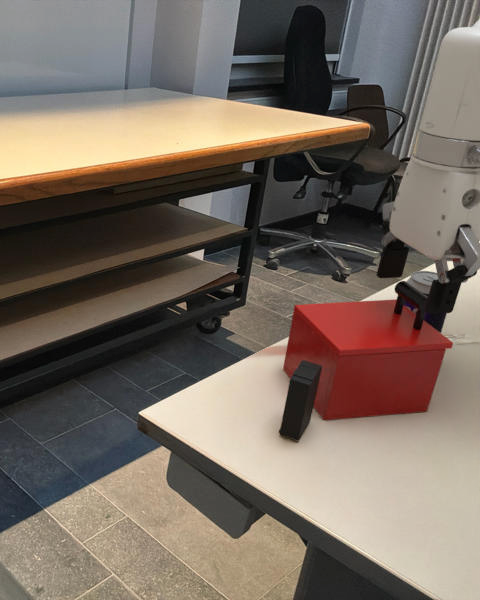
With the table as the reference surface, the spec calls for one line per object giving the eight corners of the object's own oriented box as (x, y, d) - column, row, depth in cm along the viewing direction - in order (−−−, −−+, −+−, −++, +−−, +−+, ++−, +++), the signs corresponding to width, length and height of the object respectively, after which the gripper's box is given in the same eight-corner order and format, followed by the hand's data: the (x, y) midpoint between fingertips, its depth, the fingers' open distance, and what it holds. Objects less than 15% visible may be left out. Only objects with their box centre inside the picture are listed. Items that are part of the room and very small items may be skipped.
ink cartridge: (291, 414, 80) (302, 357, 77) (310, 421, 79) (323, 363, 76) (277, 436, 76) (289, 376, 73) (297, 443, 75) (310, 383, 72)
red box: (375, 362, 92) (389, 305, 88) (427, 411, 82) (446, 349, 78) (282, 369, 89) (293, 310, 86) (324, 420, 79) (338, 356, 76)
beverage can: (390, 343, 96) (410, 266, 91) (434, 354, 94) (457, 275, 89) (384, 360, 92) (405, 280, 87) (429, 372, 90) (453, 291, 84)
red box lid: (394, 304, 88) (404, 269, 86) (451, 348, 78) (463, 310, 76) (293, 310, 86) (300, 274, 83) (338, 356, 76) (347, 316, 73)
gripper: (544, 172, 66) (490, 326, 73) (433, 133, 81) (398, 264, 89) (475, 172, 65) (428, 329, 72) (376, 133, 80) (345, 266, 87)
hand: (412, 293), depth 80 cm, fingers open, 9 cm apart
